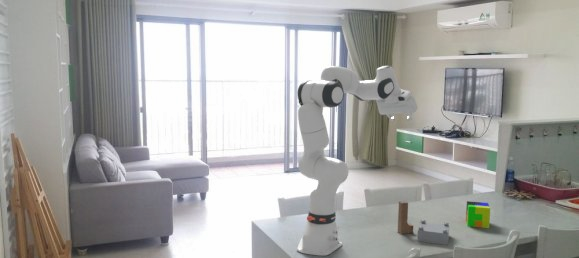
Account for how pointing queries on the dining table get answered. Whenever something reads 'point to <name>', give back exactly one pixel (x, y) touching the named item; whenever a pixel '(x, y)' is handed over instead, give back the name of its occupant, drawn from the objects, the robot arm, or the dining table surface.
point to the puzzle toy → (478, 214)
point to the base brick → (433, 232)
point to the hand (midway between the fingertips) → (401, 120)
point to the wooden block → (403, 219)
